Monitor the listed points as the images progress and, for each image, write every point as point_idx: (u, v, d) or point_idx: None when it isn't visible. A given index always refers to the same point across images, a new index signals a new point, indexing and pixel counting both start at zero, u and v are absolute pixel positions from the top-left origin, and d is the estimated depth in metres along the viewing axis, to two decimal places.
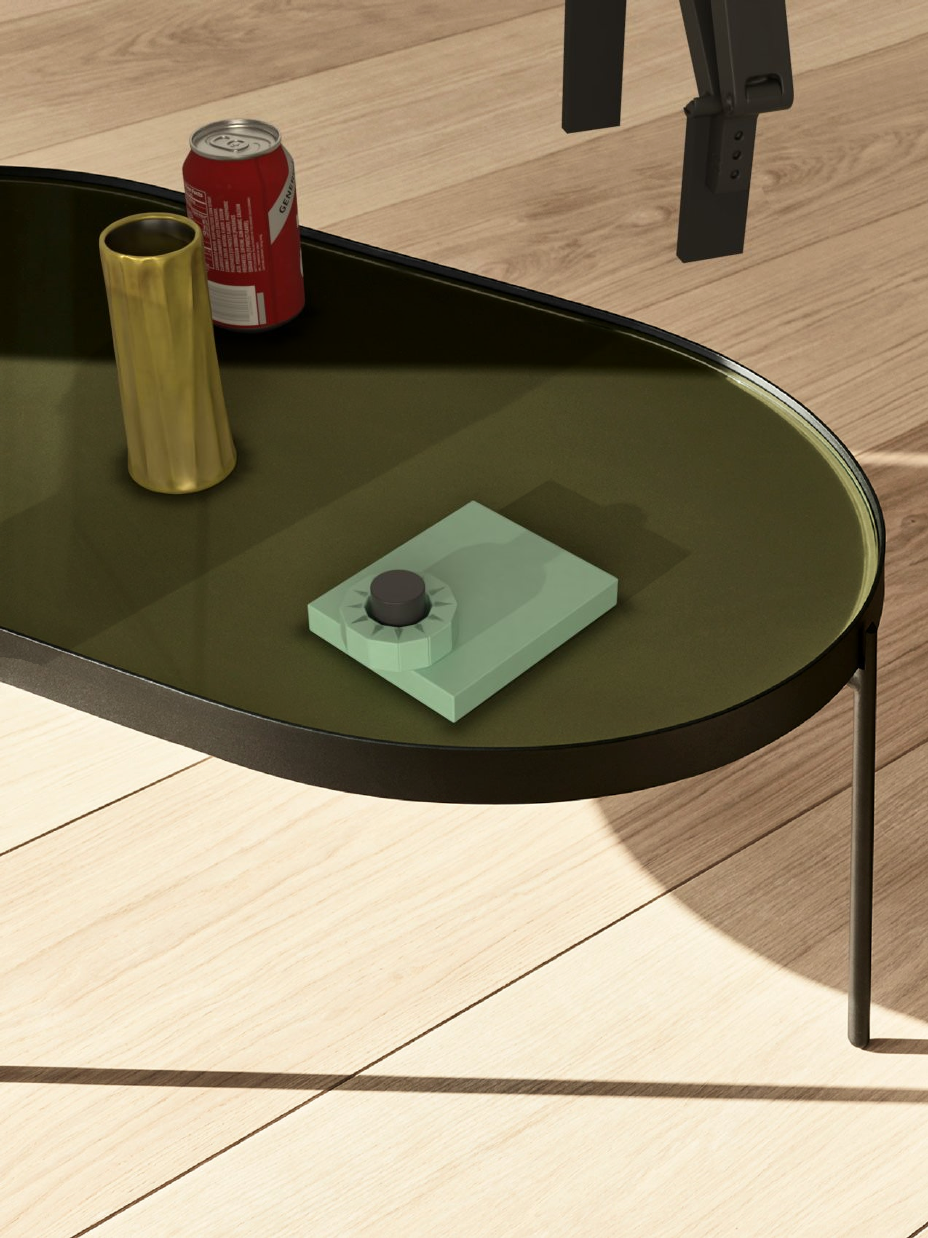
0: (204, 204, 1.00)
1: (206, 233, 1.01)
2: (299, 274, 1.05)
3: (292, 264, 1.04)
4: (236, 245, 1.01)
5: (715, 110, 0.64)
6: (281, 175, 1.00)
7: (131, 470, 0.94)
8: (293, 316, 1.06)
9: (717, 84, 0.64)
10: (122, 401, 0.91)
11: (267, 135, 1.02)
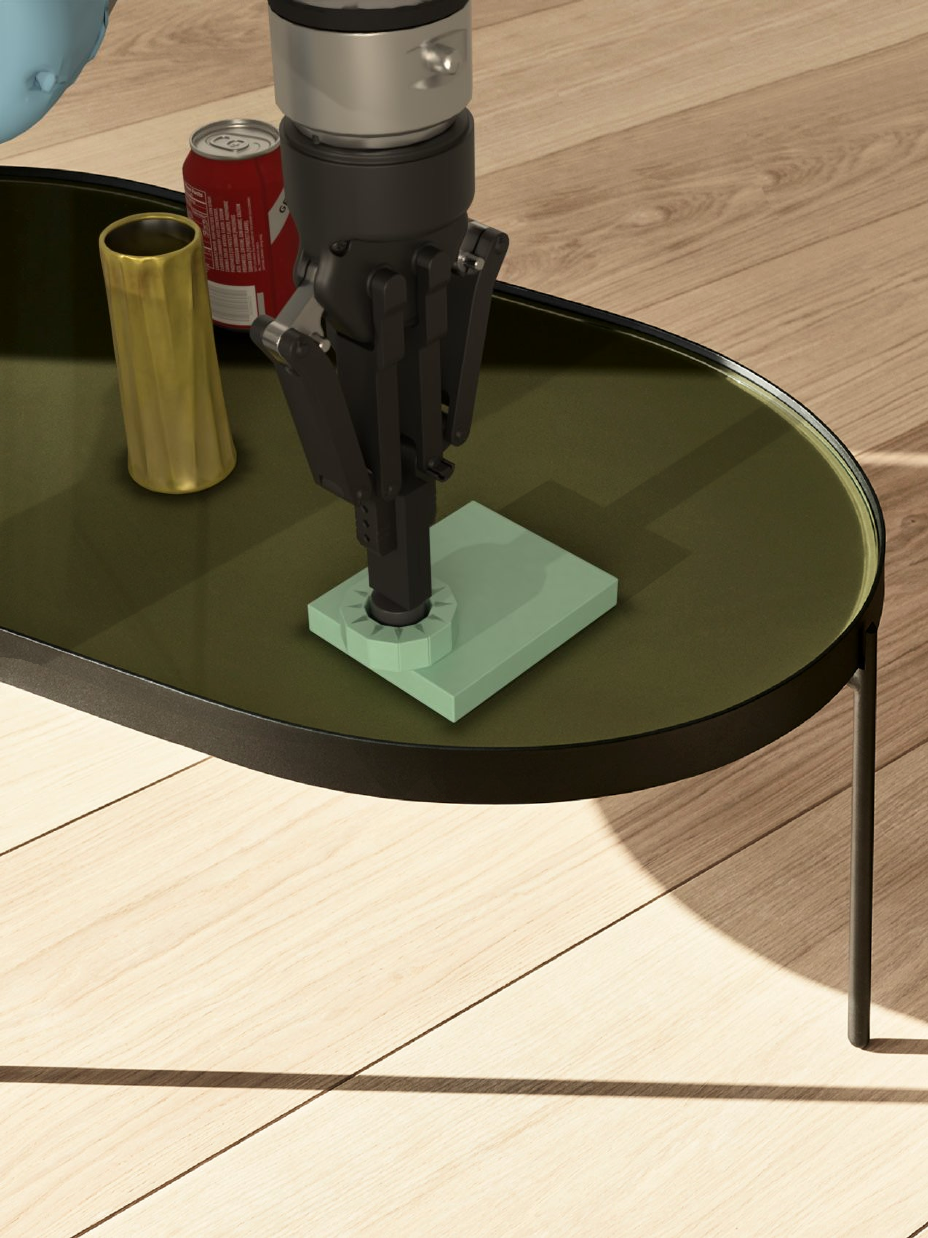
0: (204, 204, 1.00)
1: (206, 232, 1.01)
2: None
3: (292, 264, 1.04)
4: (236, 245, 1.01)
5: None
6: (281, 175, 1.00)
7: (131, 470, 0.94)
8: None
9: None
10: (122, 401, 0.91)
11: (267, 135, 1.02)
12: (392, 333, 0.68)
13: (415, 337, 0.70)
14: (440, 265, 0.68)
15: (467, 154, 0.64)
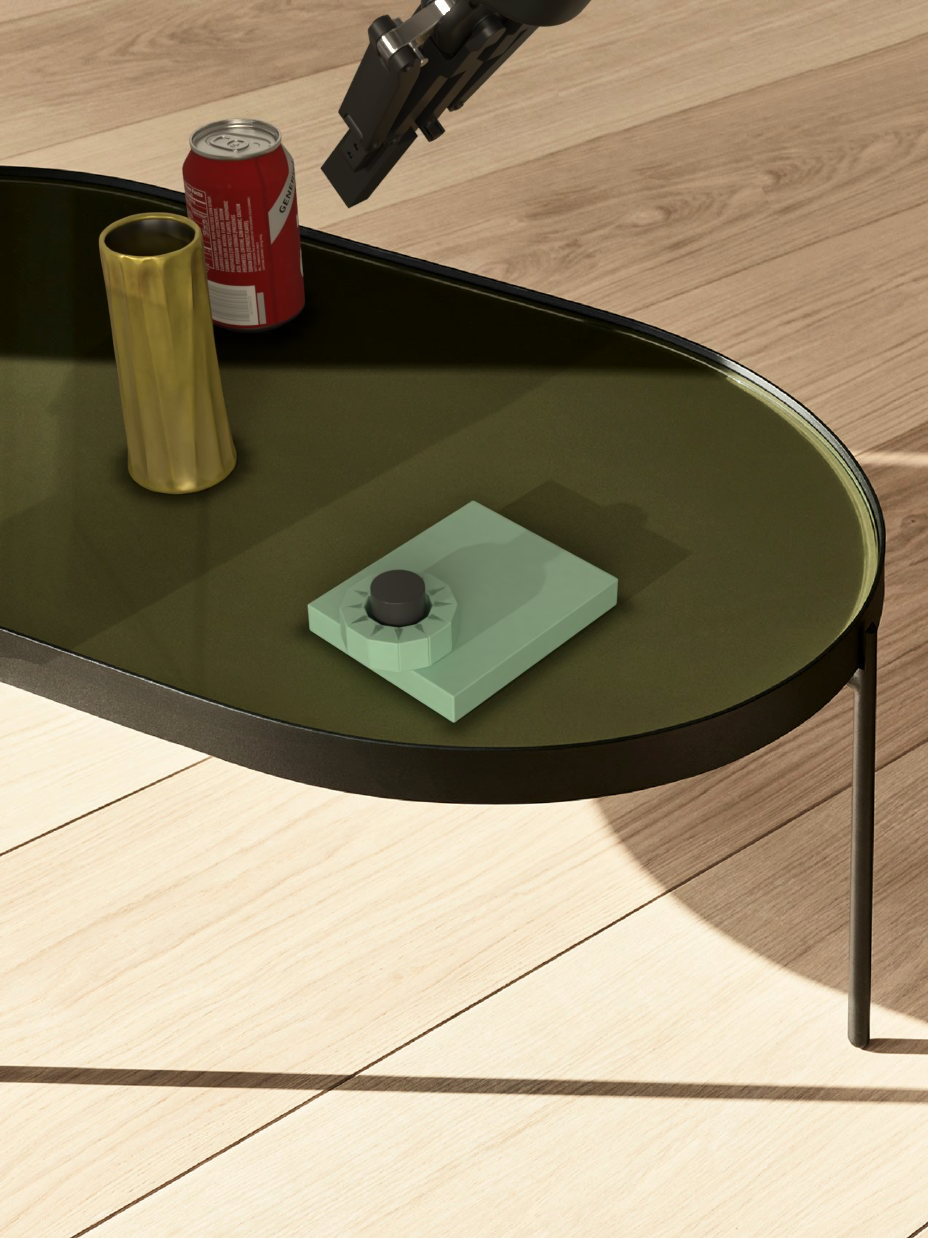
0: (204, 204, 1.00)
1: (206, 232, 1.01)
2: (299, 274, 1.05)
3: (292, 264, 1.04)
4: (236, 245, 1.01)
5: None
6: (281, 174, 1.00)
7: (131, 470, 0.94)
8: (293, 316, 1.06)
9: None
10: (122, 401, 0.91)
11: (267, 135, 1.02)
12: (470, 58, 0.79)
13: None
14: None
15: None
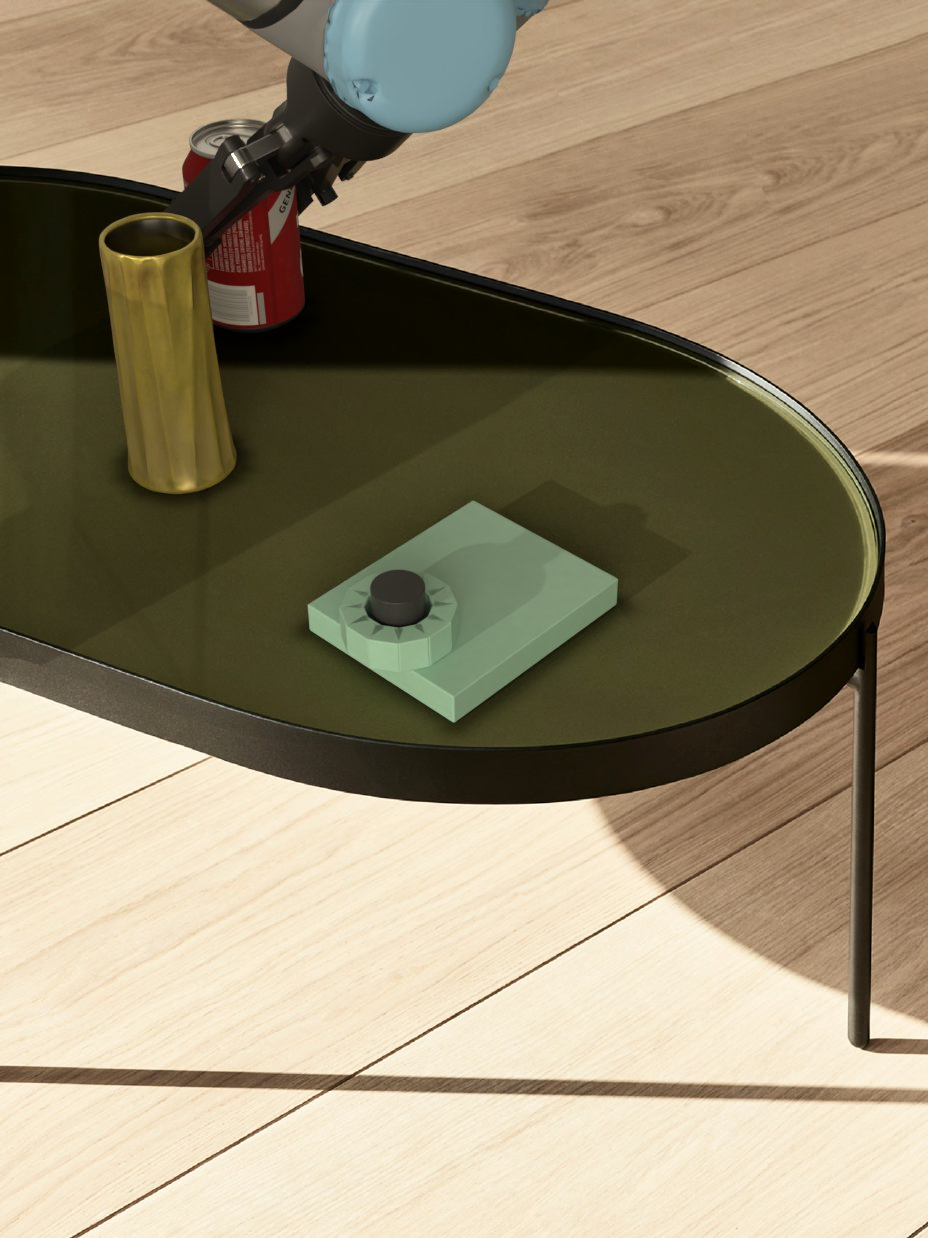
0: None
1: None
2: (299, 274, 1.05)
3: (292, 264, 1.04)
4: (236, 245, 1.01)
5: None
6: None
7: (131, 470, 0.94)
8: (293, 316, 1.06)
9: None
10: (122, 401, 0.91)
11: None
12: (299, 177, 0.95)
13: None
14: None
15: None
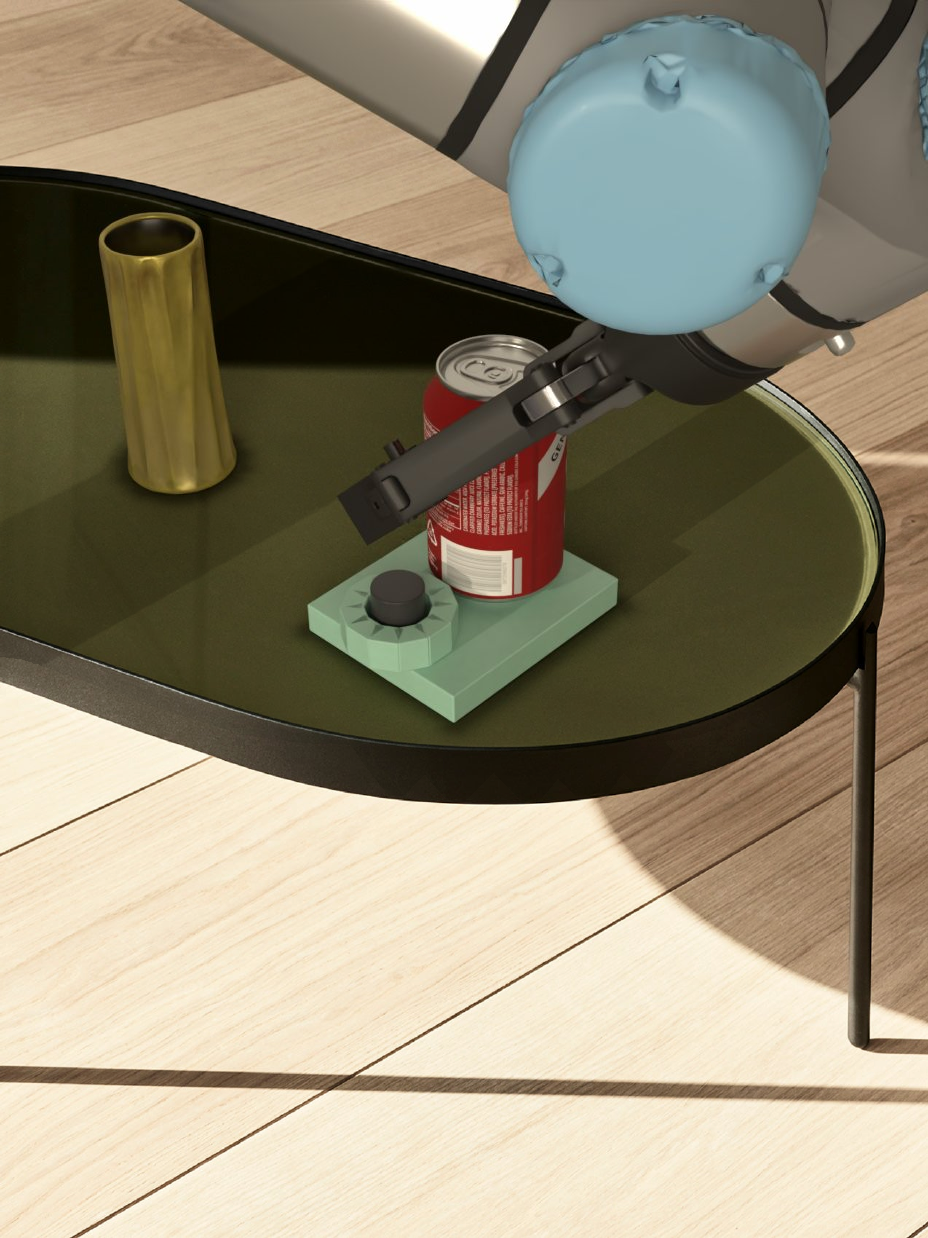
0: None
1: None
2: (563, 528, 0.82)
3: (558, 520, 0.80)
4: (495, 504, 0.78)
5: None
6: None
7: (131, 470, 0.94)
8: (553, 580, 0.82)
9: None
10: (122, 401, 0.91)
11: (534, 359, 0.78)
12: None
13: None
14: None
15: None
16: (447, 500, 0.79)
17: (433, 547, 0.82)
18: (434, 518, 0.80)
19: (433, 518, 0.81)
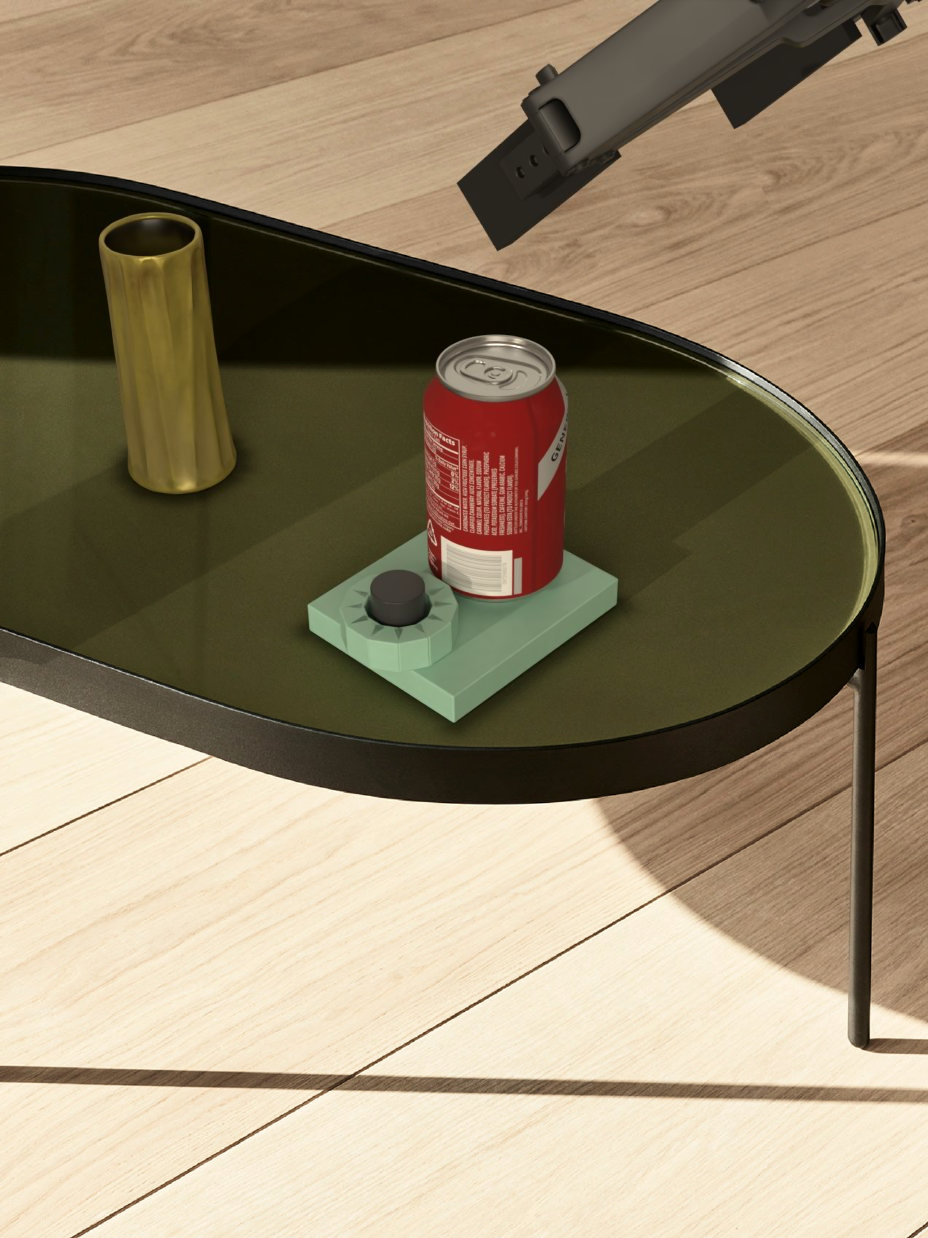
0: (456, 454, 0.77)
1: (454, 487, 0.78)
2: (563, 528, 0.82)
3: (558, 520, 0.80)
4: (495, 504, 0.78)
5: None
6: (557, 416, 0.77)
7: (131, 470, 0.94)
8: (553, 580, 0.82)
9: None
10: (122, 401, 0.91)
11: (533, 359, 0.78)
12: (843, 18, 0.49)
13: None
14: None
15: None
16: (447, 500, 0.79)
17: (433, 547, 0.82)
18: (434, 518, 0.80)
19: (433, 518, 0.81)
